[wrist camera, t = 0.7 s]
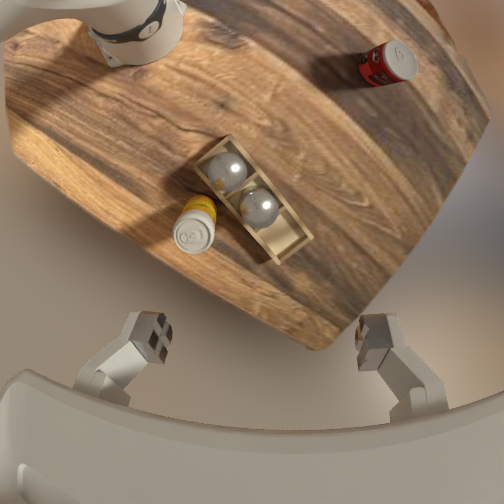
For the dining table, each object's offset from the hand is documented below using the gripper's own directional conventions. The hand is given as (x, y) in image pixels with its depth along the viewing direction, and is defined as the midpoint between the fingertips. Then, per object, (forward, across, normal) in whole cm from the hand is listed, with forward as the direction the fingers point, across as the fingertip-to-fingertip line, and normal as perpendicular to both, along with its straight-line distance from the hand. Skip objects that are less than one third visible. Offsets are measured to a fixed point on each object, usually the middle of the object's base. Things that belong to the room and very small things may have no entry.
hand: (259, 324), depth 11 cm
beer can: (+37, +16, +16) cm, 43 cm away
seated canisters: (+38, +7, +12) cm, 40 cm away
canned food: (+52, -20, -9) cm, 57 cm away
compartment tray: (+39, +6, +16) cm, 43 cm away
